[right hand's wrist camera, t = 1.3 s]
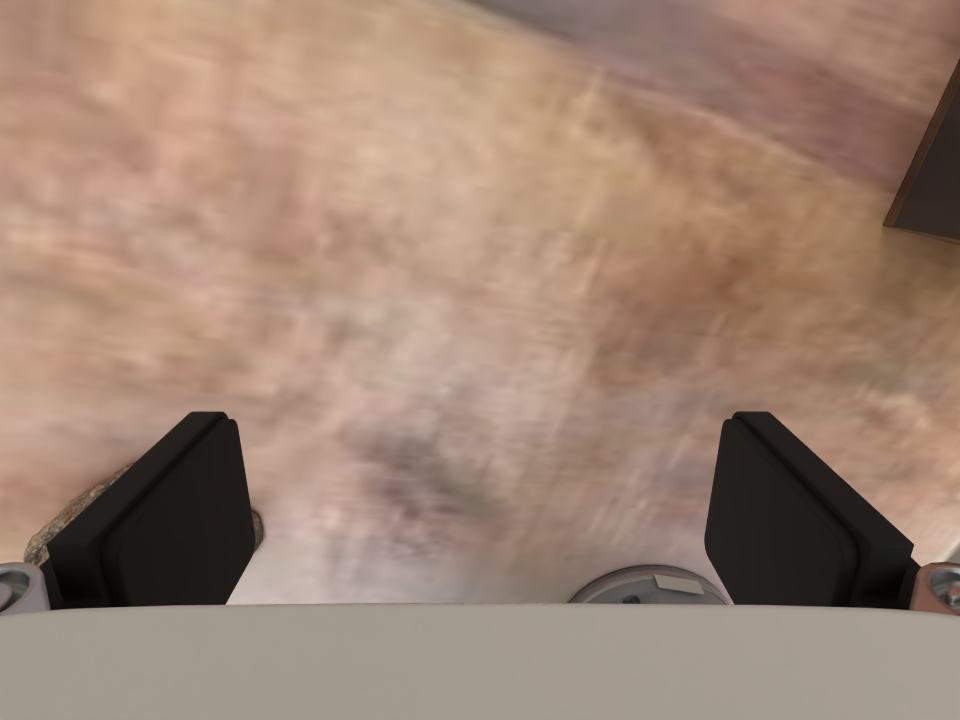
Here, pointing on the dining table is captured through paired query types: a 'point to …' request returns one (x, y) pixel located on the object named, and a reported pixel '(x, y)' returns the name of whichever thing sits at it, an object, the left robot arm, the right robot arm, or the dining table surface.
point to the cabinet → (934, 176)
